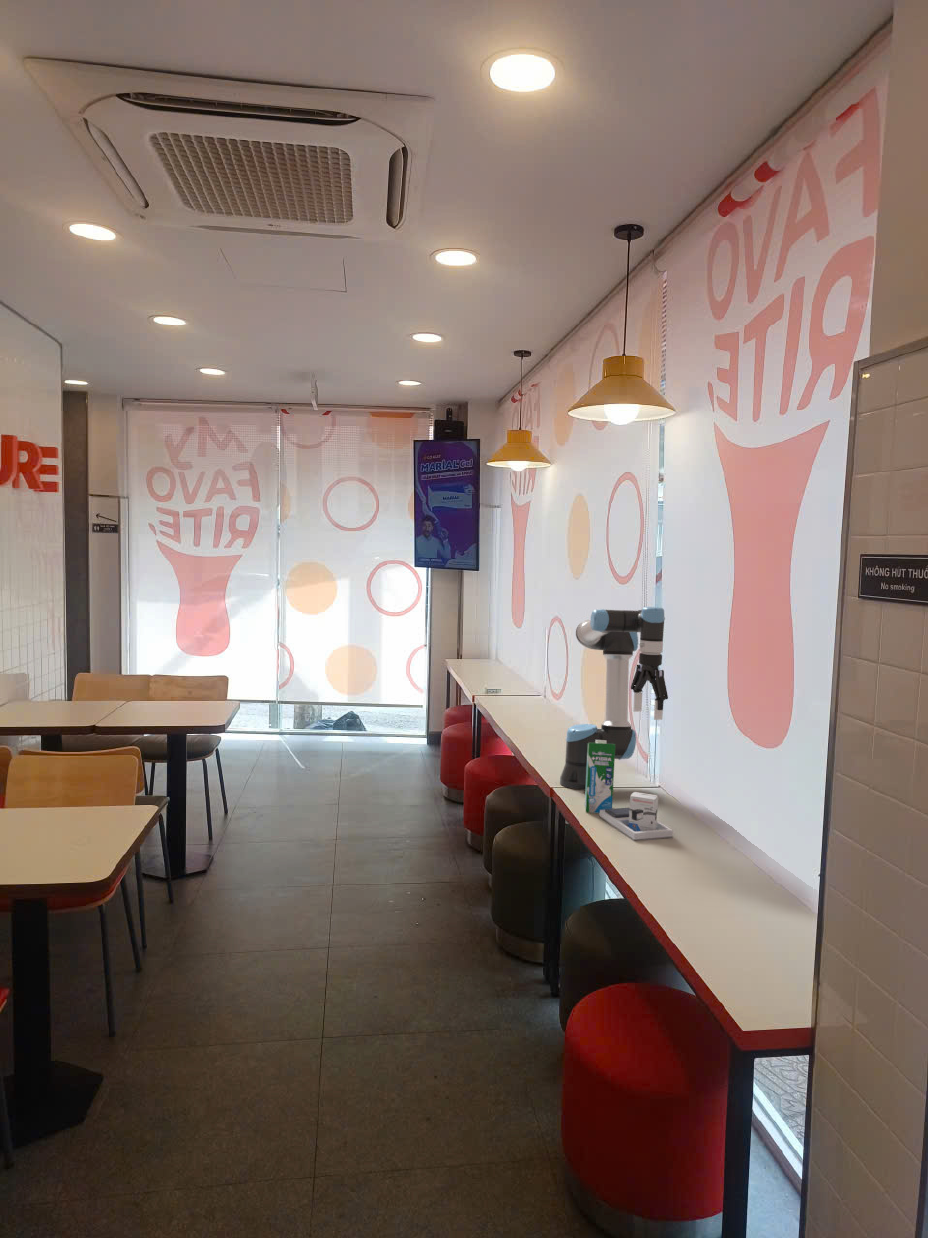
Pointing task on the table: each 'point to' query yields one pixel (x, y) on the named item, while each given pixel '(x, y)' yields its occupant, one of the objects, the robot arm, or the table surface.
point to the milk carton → (599, 776)
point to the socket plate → (623, 827)
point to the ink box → (643, 812)
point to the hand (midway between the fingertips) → (647, 715)
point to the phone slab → (618, 812)
